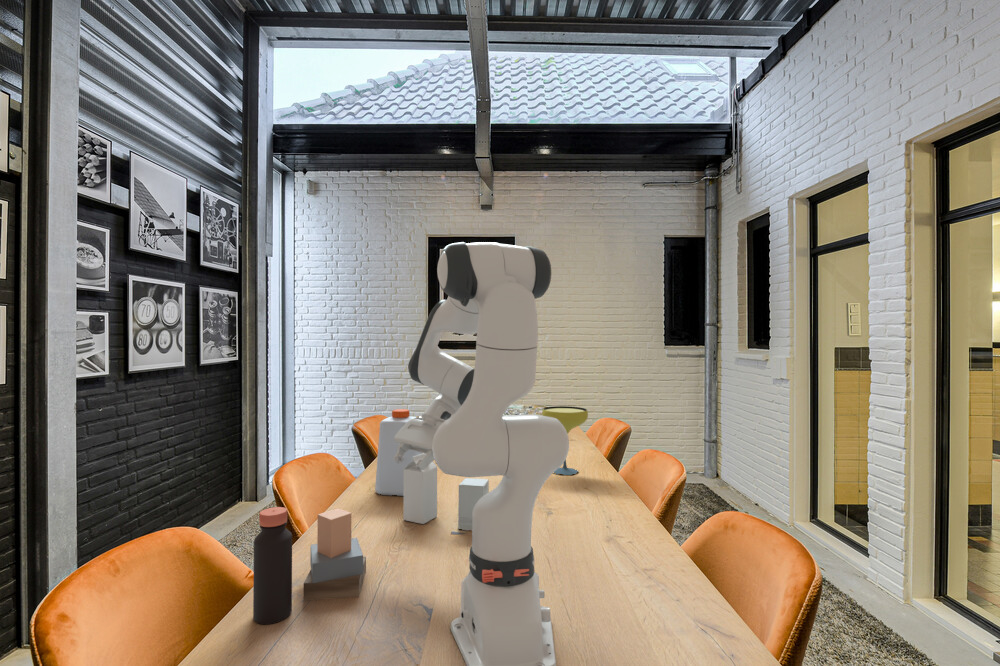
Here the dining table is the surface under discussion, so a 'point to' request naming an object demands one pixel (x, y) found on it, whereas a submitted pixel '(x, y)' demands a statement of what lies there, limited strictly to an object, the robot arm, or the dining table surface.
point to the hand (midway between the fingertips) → (407, 464)
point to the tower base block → (334, 587)
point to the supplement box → (470, 499)
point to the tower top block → (336, 563)
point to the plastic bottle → (392, 455)
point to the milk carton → (420, 492)
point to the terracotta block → (334, 532)
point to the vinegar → (272, 568)
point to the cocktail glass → (567, 425)
